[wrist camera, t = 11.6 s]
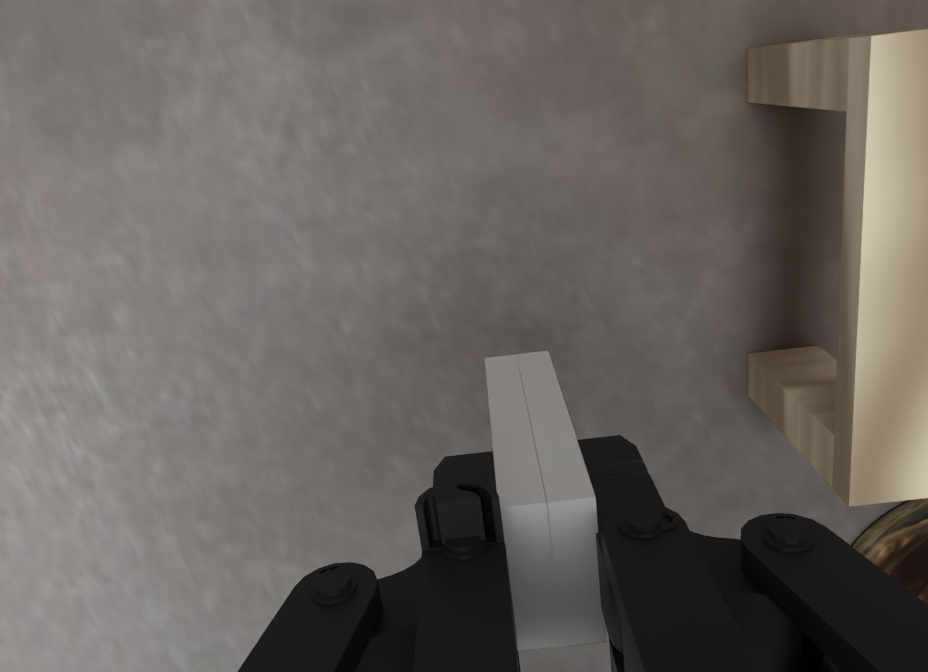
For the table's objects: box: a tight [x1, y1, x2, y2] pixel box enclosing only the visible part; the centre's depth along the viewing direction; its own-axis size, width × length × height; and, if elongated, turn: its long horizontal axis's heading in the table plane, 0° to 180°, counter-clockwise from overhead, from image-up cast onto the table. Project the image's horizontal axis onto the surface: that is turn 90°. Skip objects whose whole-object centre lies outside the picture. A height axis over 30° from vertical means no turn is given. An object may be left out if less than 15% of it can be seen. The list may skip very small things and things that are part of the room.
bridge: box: [748, 28, 928, 507], centre depth 27 cm, size 3×14×9 cm, turn 7°
